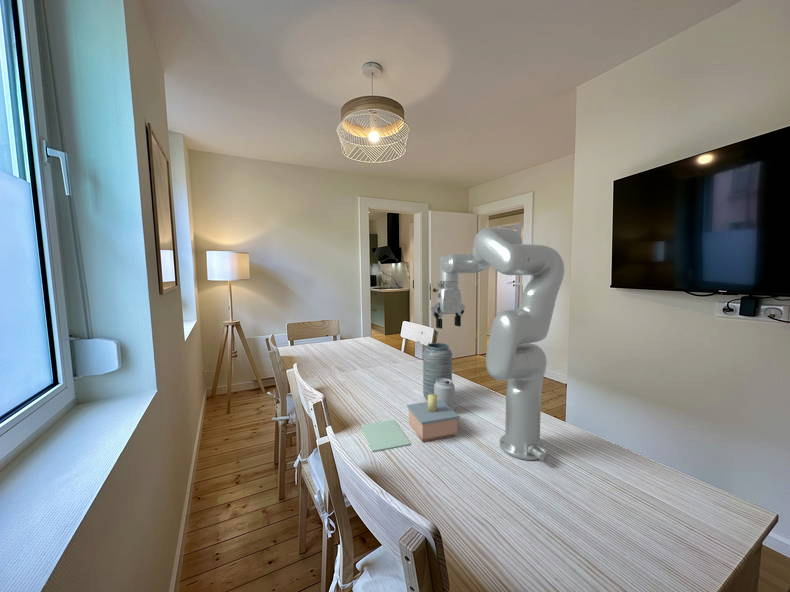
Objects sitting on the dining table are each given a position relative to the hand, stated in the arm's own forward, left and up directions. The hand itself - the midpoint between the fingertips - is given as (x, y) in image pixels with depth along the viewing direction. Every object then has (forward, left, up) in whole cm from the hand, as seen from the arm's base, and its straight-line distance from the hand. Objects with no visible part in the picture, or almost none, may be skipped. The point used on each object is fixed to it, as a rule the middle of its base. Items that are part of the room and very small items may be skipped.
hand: (448, 327), depth 127 cm
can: (-12, +8, -30) cm, 33 cm away
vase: (-2, +6, -30) cm, 31 cm away
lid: (-23, +18, -24) cm, 38 cm away
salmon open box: (-23, +18, -30) cm, 42 cm away
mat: (-21, +34, -30) cm, 50 cm away
